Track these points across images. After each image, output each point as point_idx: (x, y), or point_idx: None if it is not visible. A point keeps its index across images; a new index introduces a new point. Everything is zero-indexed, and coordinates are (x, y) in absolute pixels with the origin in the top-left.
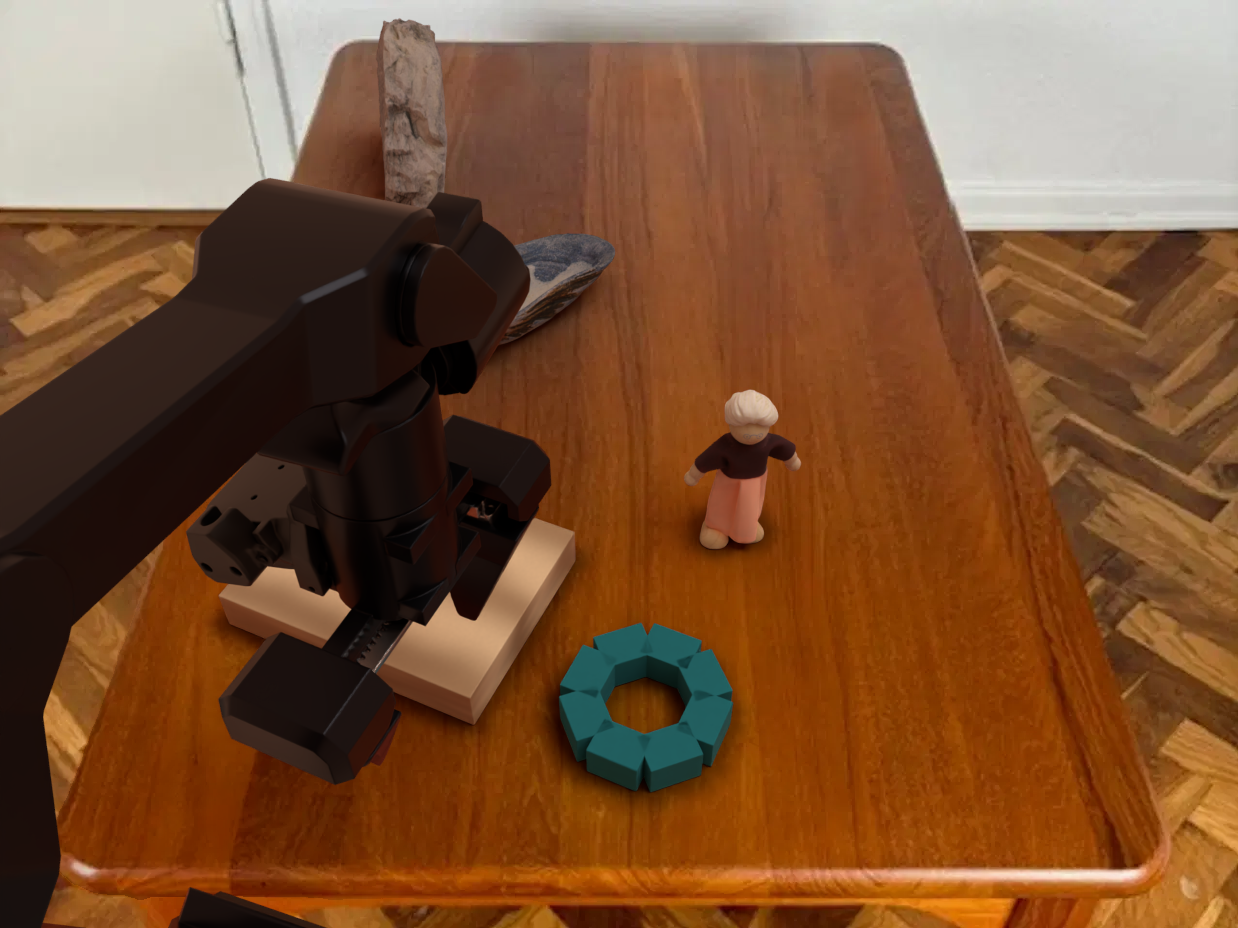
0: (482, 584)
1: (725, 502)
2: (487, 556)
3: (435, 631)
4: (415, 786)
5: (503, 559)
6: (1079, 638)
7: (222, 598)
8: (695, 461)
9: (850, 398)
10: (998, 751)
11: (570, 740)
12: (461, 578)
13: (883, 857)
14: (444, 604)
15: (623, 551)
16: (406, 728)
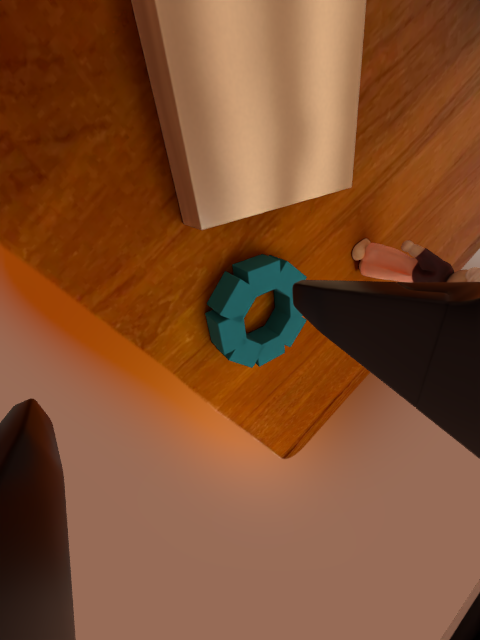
0: (364, 354)
1: (388, 261)
2: (430, 390)
3: (235, 144)
4: (105, 224)
5: (430, 415)
6: (351, 390)
7: None
8: (425, 251)
9: (433, 246)
10: (304, 411)
11: (216, 294)
12: (363, 321)
13: (247, 426)
14: (262, 129)
15: (338, 210)
16: (141, 171)
